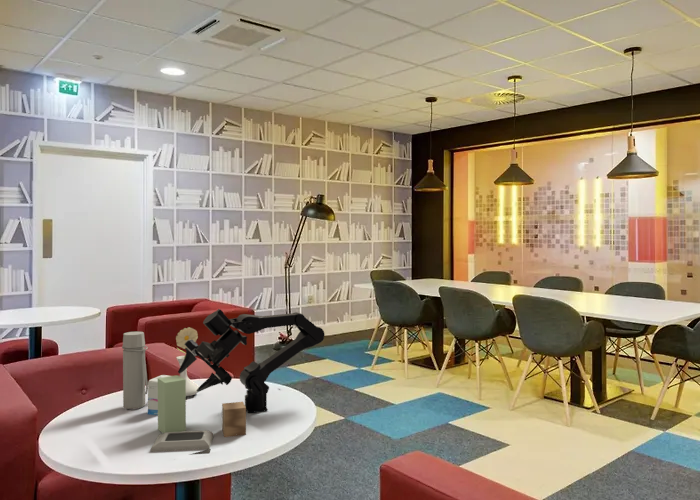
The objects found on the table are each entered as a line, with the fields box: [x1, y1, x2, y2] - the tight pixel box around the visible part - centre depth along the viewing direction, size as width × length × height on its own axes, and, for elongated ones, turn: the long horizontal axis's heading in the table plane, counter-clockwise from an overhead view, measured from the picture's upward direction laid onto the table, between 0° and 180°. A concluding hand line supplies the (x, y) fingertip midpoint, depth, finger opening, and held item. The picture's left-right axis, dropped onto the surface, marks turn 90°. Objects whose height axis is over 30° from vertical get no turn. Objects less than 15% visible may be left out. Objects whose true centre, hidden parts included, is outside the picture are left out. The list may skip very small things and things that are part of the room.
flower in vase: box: [175, 326, 200, 397], centre depth 195 cm, size 13×11×25 cm
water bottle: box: [121, 331, 149, 410], centre depth 182 cm, size 9×8×25 cm
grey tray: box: [150, 430, 214, 456], centre depth 148 cm, size 10×4×15 cm
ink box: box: [147, 374, 171, 416], centre depth 175 cm, size 9×5×12 cm, turn 168°
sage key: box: [157, 374, 187, 434], centre depth 158 cm, size 6×6×15 cm
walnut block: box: [221, 401, 247, 438], centre depth 156 cm, size 6×6×9 cm
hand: (187, 382), depth 169 cm, fingers open, 9 cm apart
